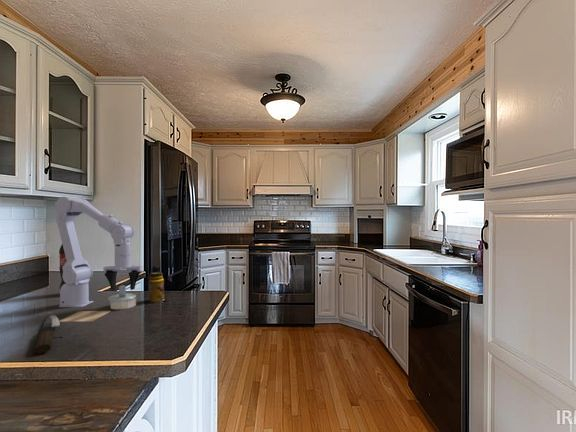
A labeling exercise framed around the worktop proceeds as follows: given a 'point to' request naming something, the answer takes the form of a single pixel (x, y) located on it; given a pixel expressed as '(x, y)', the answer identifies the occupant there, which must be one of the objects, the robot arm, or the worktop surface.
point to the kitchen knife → (46, 335)
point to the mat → (84, 316)
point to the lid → (122, 295)
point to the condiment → (156, 287)
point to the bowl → (123, 304)
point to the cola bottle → (62, 263)
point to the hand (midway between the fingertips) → (123, 289)
